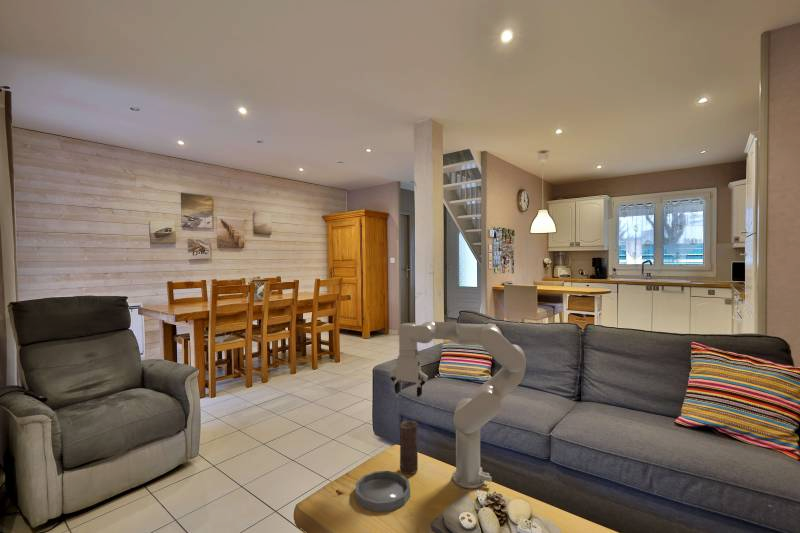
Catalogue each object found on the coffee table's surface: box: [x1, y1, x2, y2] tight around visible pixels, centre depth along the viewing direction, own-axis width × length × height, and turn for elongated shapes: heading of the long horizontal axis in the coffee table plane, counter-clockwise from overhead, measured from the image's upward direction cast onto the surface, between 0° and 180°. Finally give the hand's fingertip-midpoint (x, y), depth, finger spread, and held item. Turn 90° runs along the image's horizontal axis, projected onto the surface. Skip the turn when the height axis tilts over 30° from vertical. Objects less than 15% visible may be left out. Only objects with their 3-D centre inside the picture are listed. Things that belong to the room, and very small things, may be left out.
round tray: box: [355, 470, 411, 513], centre depth 135 cm, size 20×20×3 cm
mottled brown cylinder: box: [399, 420, 419, 474], centre depth 150 cm, size 8×7×20 cm
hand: (408, 394), depth 151 cm, fingers open, 9 cm apart
